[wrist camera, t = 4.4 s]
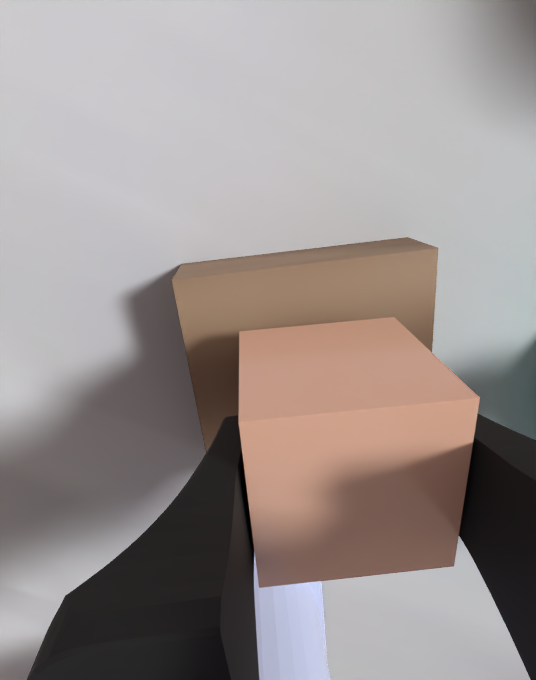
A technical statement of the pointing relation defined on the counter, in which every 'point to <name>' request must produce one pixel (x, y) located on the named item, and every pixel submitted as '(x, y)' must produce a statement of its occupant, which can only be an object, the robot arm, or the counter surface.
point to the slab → (294, 305)
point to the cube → (351, 451)
